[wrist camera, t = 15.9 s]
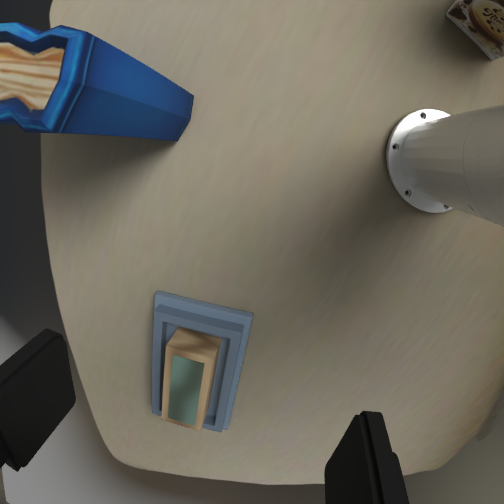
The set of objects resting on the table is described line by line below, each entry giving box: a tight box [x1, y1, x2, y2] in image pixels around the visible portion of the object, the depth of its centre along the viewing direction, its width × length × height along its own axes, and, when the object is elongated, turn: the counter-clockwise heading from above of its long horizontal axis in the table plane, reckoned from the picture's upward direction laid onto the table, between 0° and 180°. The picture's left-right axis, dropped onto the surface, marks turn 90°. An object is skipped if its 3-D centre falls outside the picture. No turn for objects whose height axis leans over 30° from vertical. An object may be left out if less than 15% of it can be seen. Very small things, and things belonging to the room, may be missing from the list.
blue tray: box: [152, 291, 253, 432], centre depth 43 cm, size 13×22×3 cm, turn 169°
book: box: [0, 22, 194, 141], centre depth 23 cm, size 22×7×25 cm, turn 69°
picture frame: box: [162, 327, 222, 431], centre depth 41 cm, size 6×14×5 cm, turn 168°
